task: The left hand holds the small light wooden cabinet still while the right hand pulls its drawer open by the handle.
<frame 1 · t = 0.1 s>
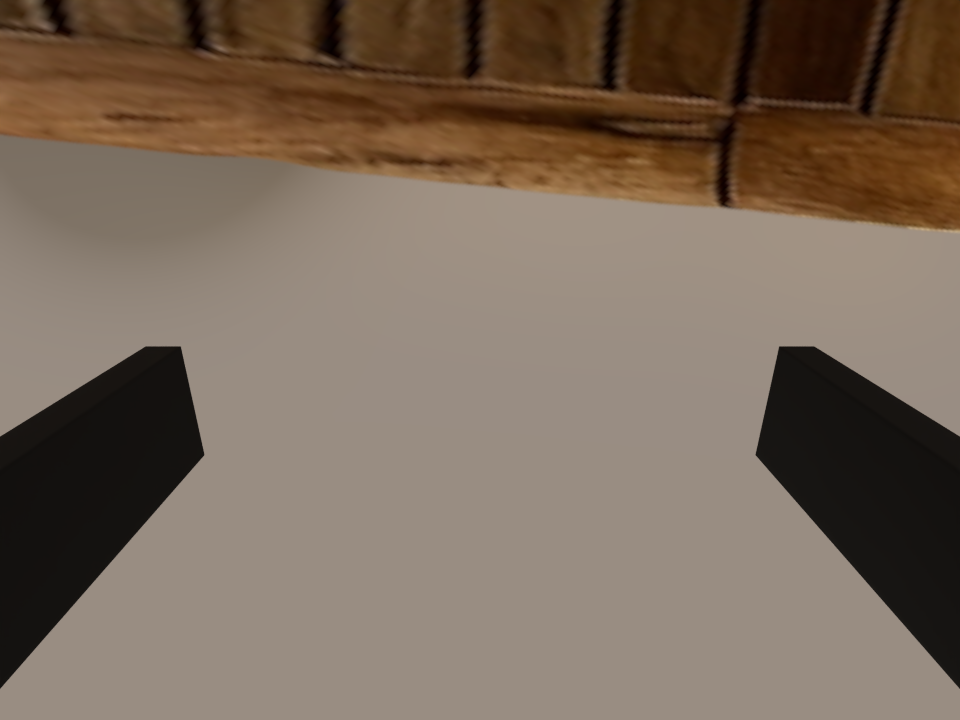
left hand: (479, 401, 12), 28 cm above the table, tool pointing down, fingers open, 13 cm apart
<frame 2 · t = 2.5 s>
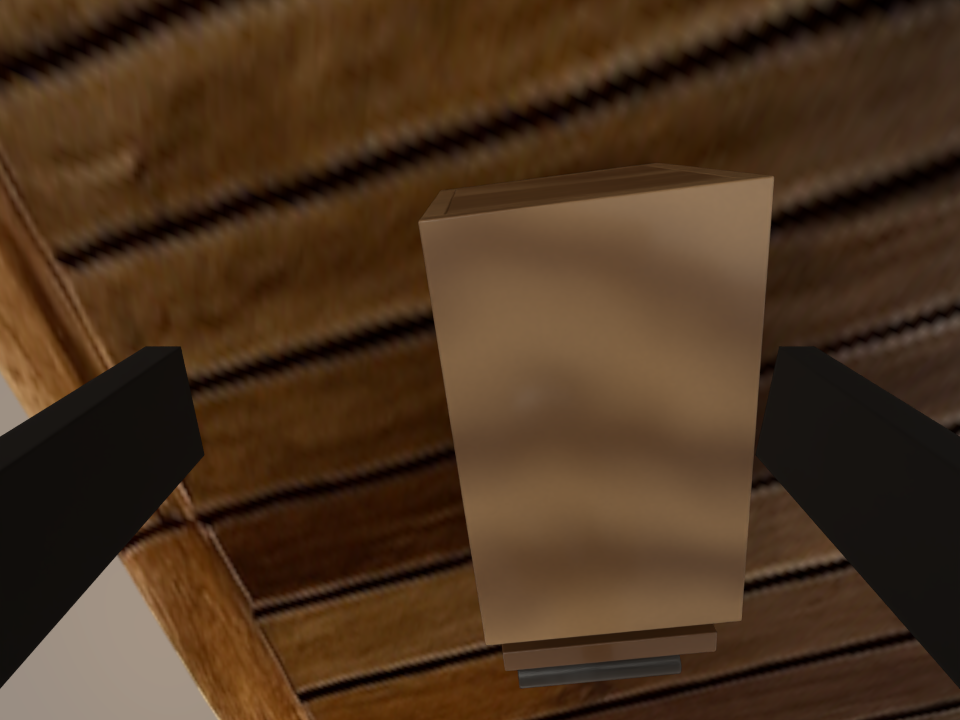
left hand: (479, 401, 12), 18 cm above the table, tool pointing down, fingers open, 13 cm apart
cabinet: (560, 345, 31), on the table
drawer: (584, 499, 28), point 6 cm above the table, slide at 1.6 cm
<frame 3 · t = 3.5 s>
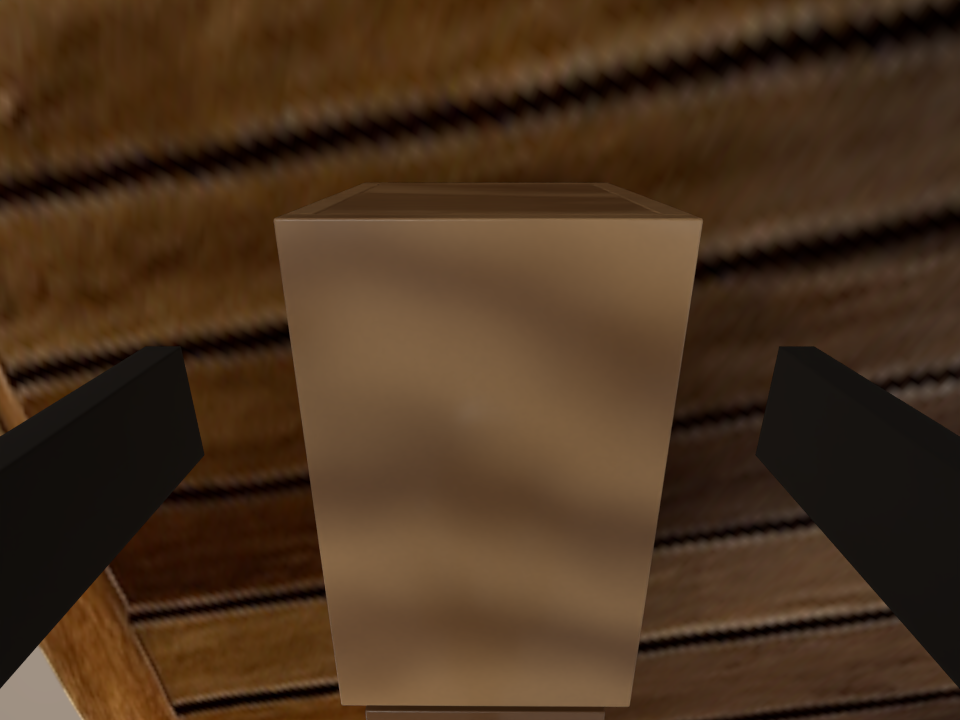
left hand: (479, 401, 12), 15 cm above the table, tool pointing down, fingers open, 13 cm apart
cabinet: (485, 368, 28), on the table
drawer: (485, 544, 25), point 6 cm above the table, slide at 1.6 cm
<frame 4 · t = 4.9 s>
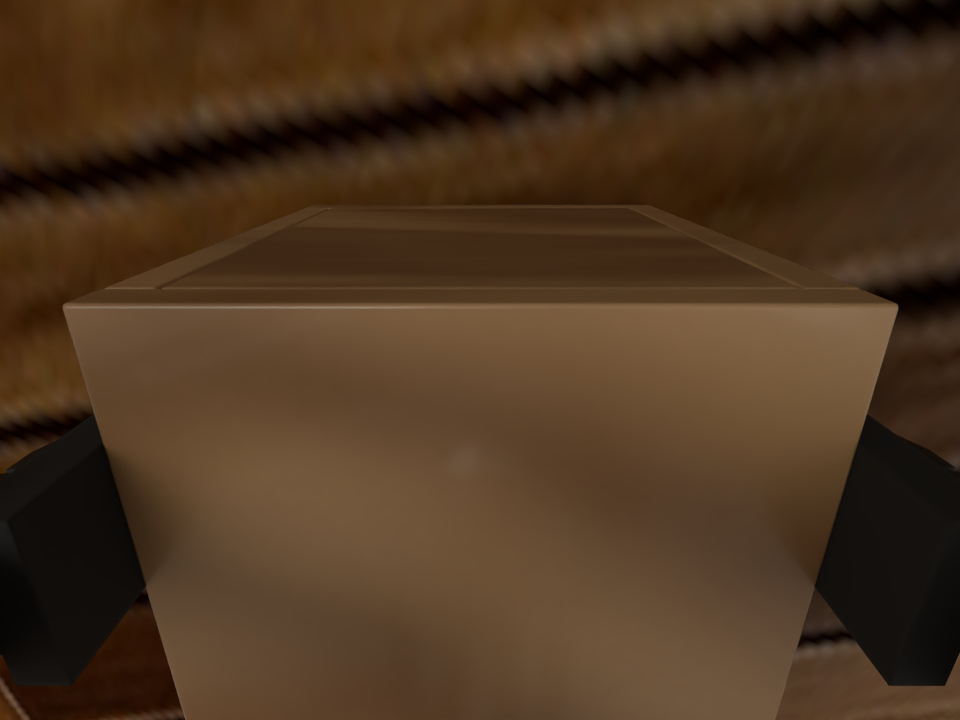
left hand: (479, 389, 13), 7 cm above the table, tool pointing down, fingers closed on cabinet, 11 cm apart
cabinet: (480, 446, 21), on the table, touching left hand
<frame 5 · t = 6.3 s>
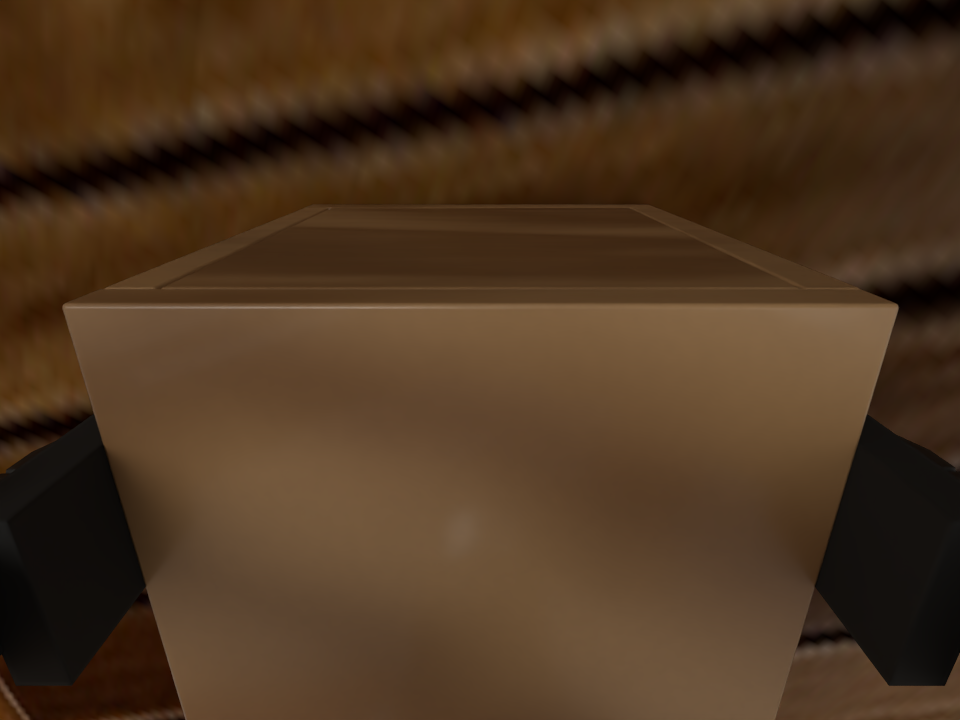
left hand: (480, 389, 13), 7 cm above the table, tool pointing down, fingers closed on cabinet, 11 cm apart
cabinet: (480, 446, 21), on the table, touching left hand
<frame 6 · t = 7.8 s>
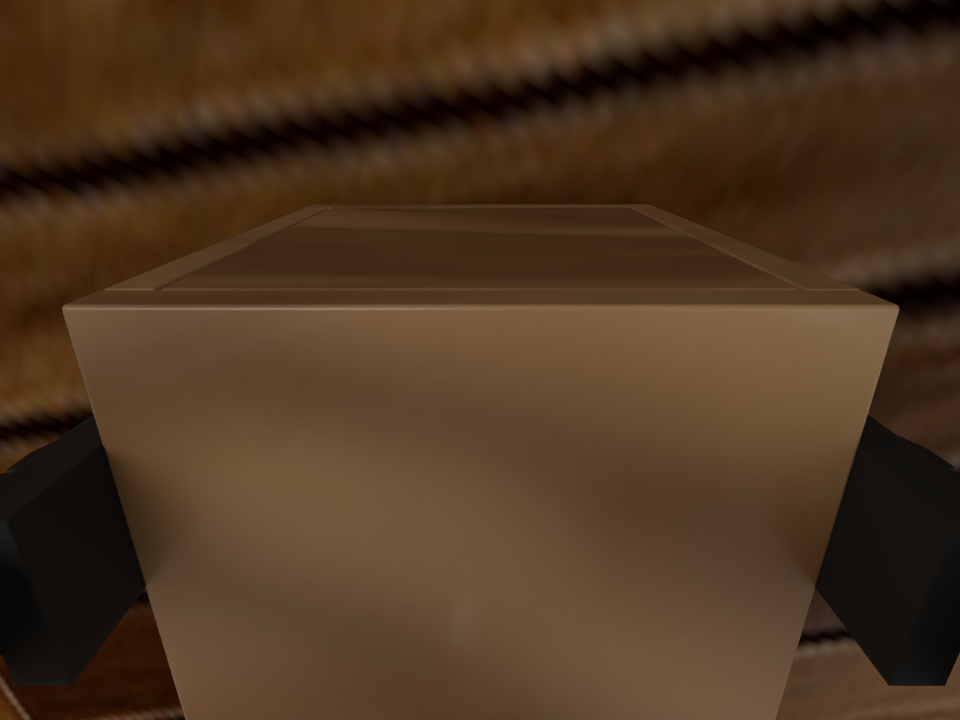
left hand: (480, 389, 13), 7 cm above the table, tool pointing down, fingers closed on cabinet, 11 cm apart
cabinet: (480, 446, 21), on the table, touching left hand
when the left hand's fingers open (7 cm above the table, at t = 9.4 s): cabinet stays where it is, on the table.
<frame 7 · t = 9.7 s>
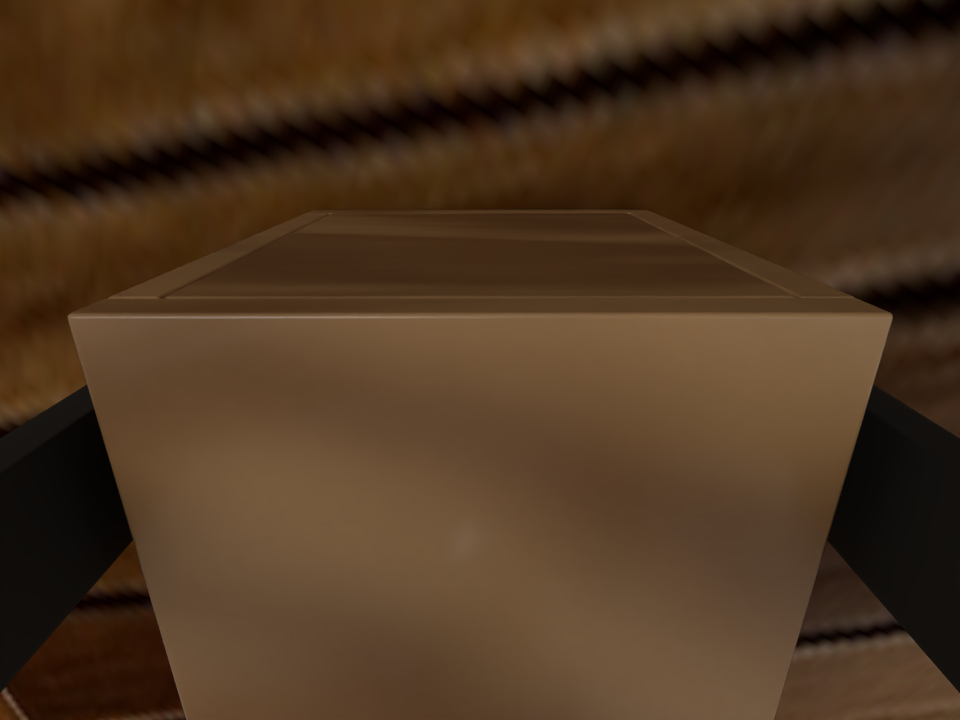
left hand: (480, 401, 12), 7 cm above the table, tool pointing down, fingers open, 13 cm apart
cabinet: (479, 449, 21), on the table
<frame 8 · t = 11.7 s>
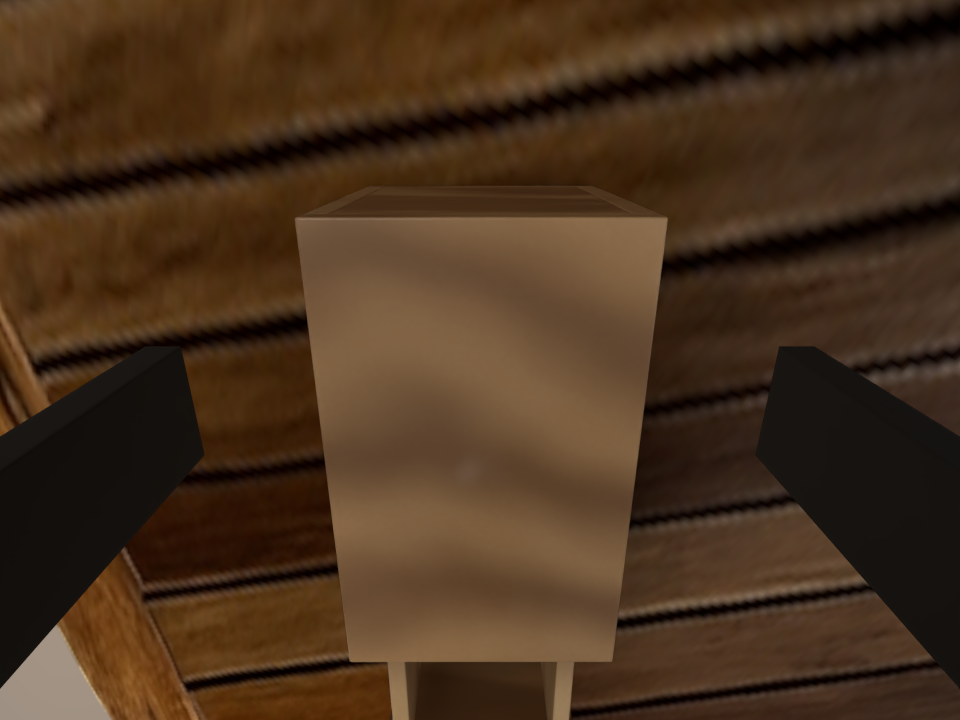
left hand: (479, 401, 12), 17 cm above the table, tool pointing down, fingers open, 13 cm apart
cabinet: (480, 358, 30), on the table
drawer: (480, 624, 30), point 6 cm above the table, slide at 8.6 cm
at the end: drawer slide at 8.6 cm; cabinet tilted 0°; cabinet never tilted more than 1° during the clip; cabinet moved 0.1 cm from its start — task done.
